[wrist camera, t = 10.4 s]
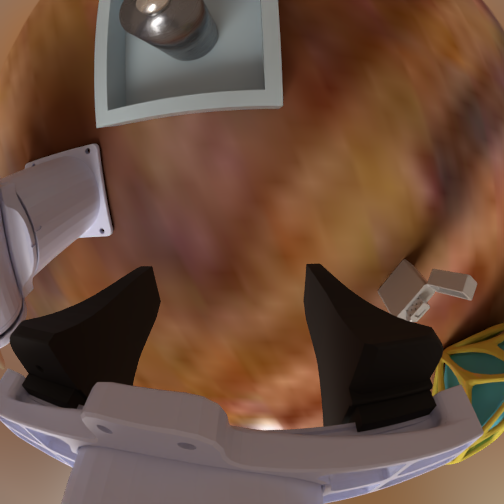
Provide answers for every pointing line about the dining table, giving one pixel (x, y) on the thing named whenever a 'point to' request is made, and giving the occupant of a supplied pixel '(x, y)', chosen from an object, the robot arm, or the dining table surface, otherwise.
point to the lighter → (421, 290)
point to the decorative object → (477, 381)
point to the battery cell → (171, 26)
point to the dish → (189, 67)
